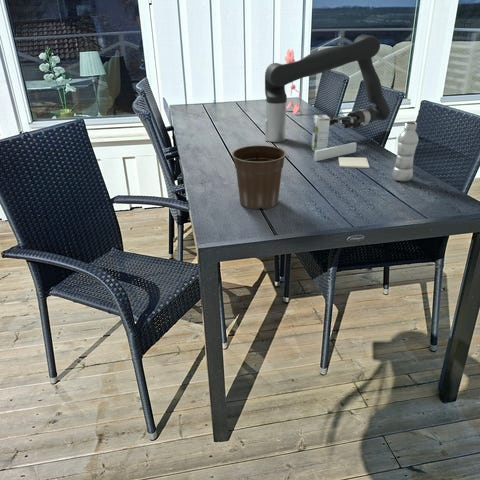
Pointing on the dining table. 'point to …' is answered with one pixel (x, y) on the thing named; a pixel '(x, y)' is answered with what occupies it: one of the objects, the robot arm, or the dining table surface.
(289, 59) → the figurine
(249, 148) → the plant pot
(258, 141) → the dining table surface
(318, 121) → the syrup box
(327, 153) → the low wall
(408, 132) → the plastic bottle
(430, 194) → the dining table surface
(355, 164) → the resting pad
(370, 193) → the dining table surface
